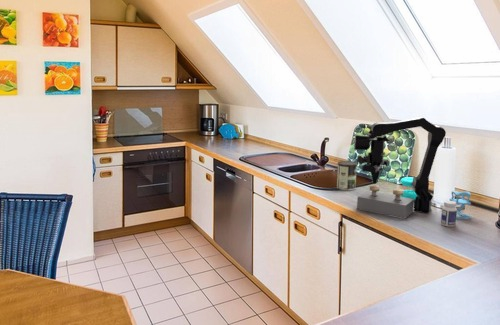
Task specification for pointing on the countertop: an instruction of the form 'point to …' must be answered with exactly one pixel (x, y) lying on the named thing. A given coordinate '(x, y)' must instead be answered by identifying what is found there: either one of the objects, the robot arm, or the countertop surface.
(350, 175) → the coffee can
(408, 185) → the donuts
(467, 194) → the chair
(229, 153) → the countertop surface
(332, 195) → the countertop surface
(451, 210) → the pill bottle
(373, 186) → the far cap
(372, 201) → the housing
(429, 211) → the robot arm
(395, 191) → the near cap
